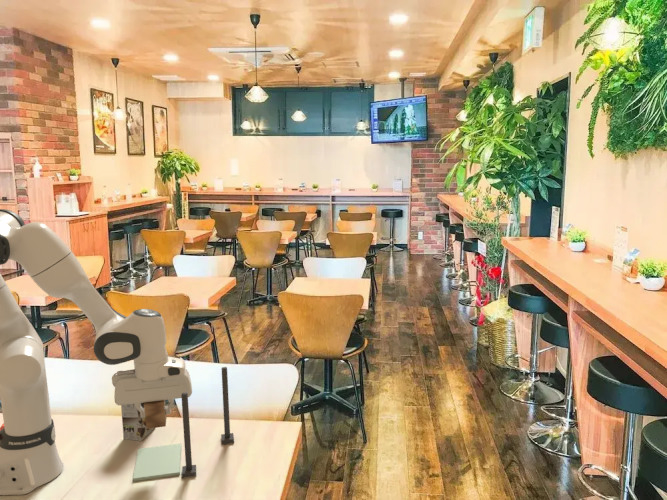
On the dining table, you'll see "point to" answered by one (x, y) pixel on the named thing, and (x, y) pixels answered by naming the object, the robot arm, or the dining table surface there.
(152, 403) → the walnut block
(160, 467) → the board
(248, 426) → the dining table surface
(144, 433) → the coffee box
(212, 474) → the dining table surface
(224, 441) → the post
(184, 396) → the front cord post
